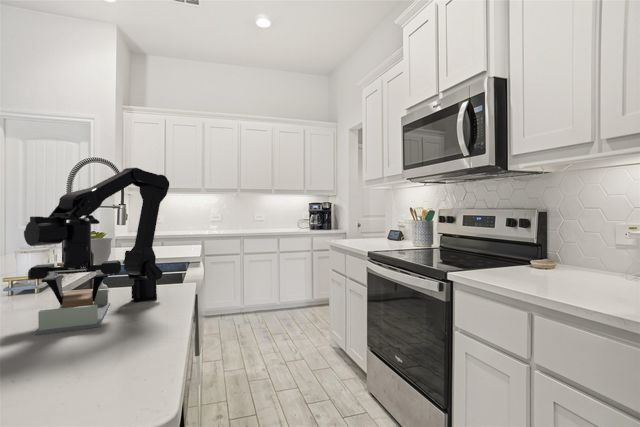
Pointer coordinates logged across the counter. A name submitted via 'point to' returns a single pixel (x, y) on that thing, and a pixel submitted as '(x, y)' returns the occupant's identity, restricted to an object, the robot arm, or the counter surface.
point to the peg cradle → (74, 316)
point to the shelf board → (77, 298)
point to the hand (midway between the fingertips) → (78, 302)
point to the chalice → (101, 252)
